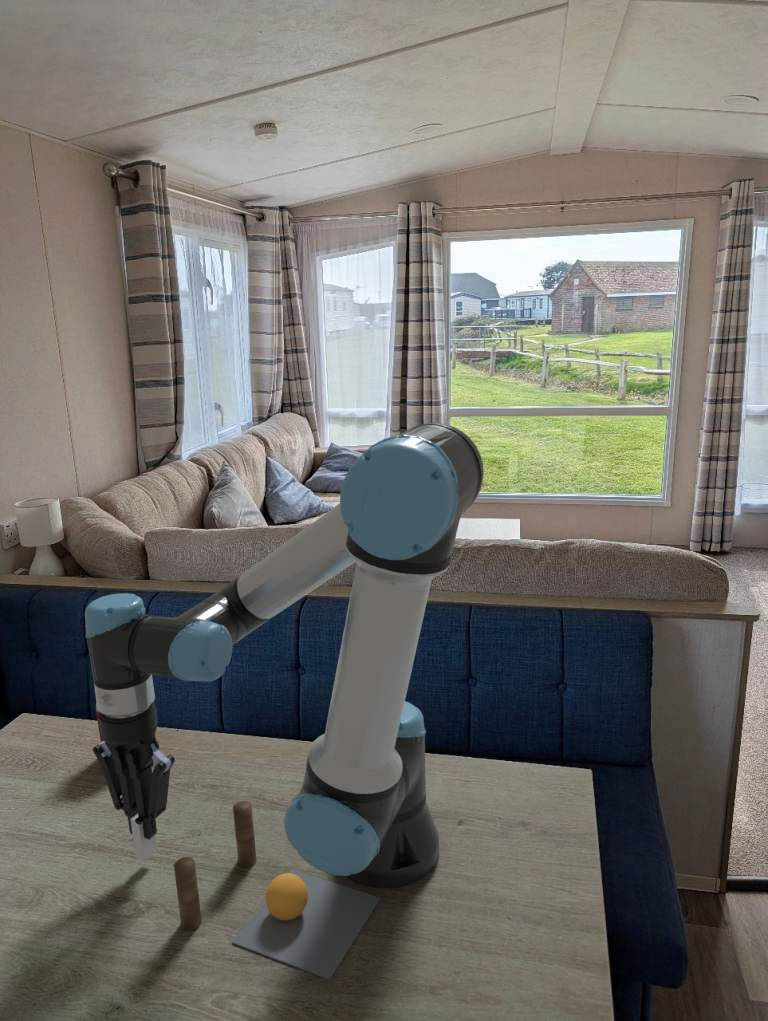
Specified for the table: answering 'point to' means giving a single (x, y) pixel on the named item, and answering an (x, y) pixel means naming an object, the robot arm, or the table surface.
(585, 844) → the table surface
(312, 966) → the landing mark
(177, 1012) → the table surface
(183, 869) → the front post
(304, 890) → the ball
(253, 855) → the post
